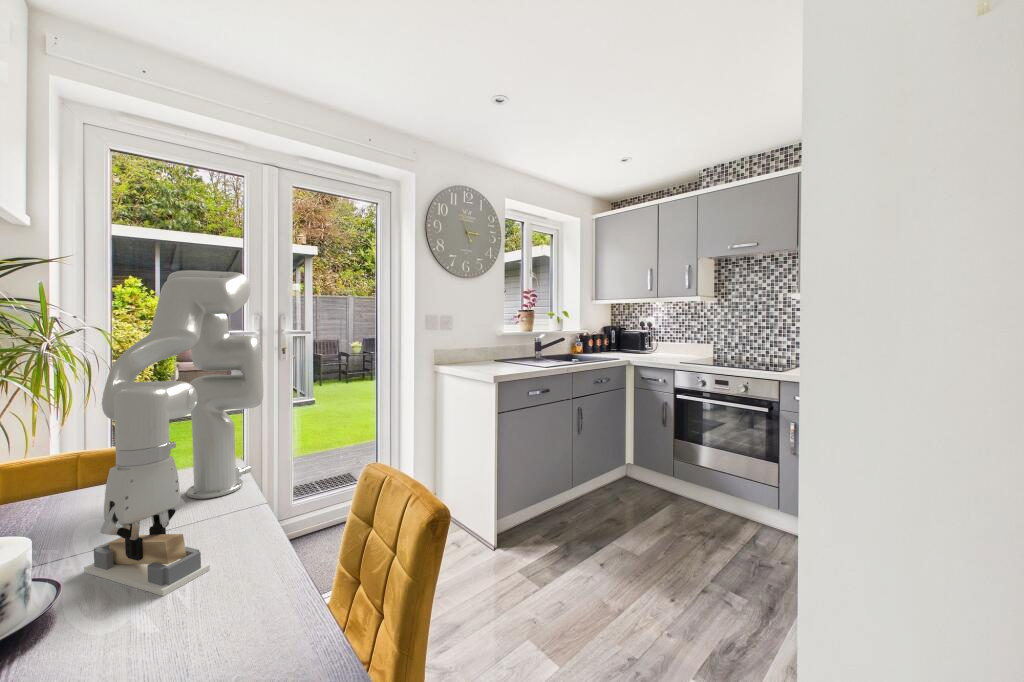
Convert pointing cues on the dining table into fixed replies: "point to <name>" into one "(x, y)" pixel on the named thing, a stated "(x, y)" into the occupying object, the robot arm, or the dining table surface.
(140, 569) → the mounting board
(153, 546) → the slat
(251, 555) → the dining table surface
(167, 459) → the robot arm
